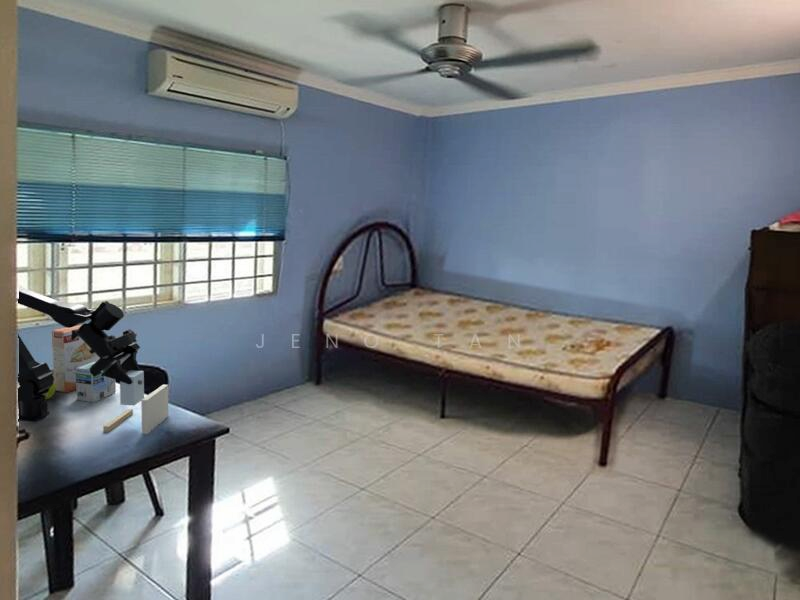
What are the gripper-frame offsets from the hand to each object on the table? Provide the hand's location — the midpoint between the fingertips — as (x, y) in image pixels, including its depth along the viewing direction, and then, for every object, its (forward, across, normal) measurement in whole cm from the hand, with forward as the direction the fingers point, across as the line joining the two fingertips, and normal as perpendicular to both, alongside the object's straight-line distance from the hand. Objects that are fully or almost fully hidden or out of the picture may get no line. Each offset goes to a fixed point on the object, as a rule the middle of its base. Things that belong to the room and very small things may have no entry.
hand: (136, 380), depth 165 cm
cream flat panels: (+9, 0, +10) cm, 13 cm away
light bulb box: (-7, +20, +26) cm, 34 cm away
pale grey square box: (+4, 0, +6) cm, 7 cm away
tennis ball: (-17, +14, +36) cm, 42 cm away
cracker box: (-15, +28, +34) cm, 46 cm away
